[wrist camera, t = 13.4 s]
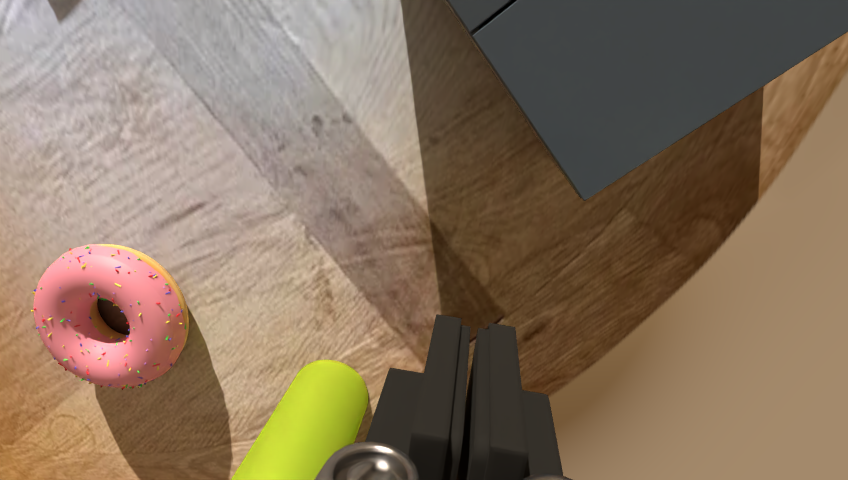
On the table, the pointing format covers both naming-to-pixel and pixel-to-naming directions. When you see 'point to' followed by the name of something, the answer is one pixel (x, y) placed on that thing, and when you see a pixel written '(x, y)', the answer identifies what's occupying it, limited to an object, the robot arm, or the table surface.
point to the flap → (643, 69)
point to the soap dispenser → (308, 424)
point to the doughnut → (85, 329)
